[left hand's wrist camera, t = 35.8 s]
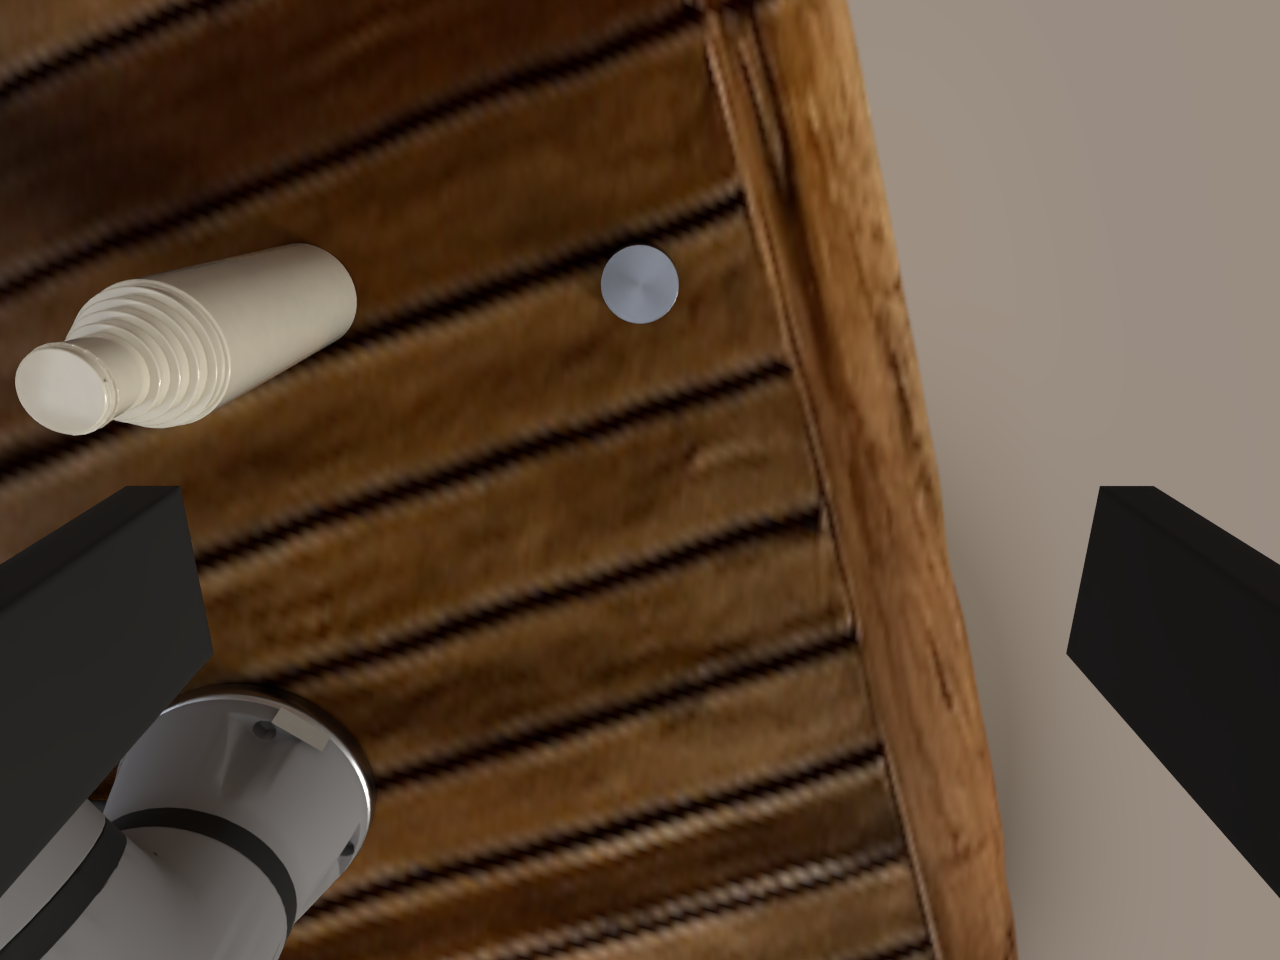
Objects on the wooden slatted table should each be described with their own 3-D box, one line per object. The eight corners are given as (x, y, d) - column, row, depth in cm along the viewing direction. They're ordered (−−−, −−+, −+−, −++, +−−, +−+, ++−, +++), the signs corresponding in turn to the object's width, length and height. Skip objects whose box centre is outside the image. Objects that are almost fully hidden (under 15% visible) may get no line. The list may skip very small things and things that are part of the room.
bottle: (266, 350, 44) (3, 481, 26) (242, 247, 43) (-60, 309, 24) (366, 343, 44) (171, 469, 26) (346, 239, 42) (122, 295, 24)
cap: (691, 268, 43) (694, 272, 41) (650, 332, 44) (651, 338, 42) (628, 226, 42) (627, 228, 41) (588, 291, 43) (586, 296, 42)
